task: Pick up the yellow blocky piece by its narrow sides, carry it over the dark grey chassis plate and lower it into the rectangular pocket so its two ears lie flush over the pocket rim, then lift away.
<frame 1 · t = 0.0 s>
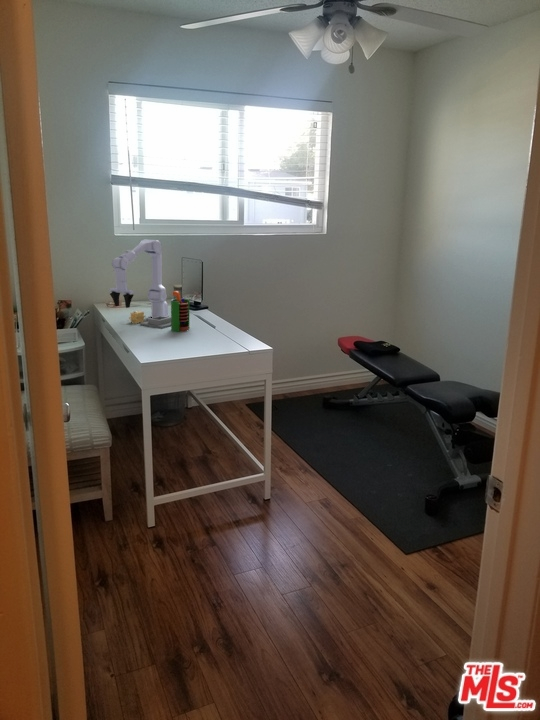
hand: (122, 306, 286), 10 cm above the table, tool pointing down, fingers open, 7 cm apart
yellow blocky piece: (137, 322, 298), on the table
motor: (180, 330, 282), on the table
chassis plate: (159, 324, 293), on the table
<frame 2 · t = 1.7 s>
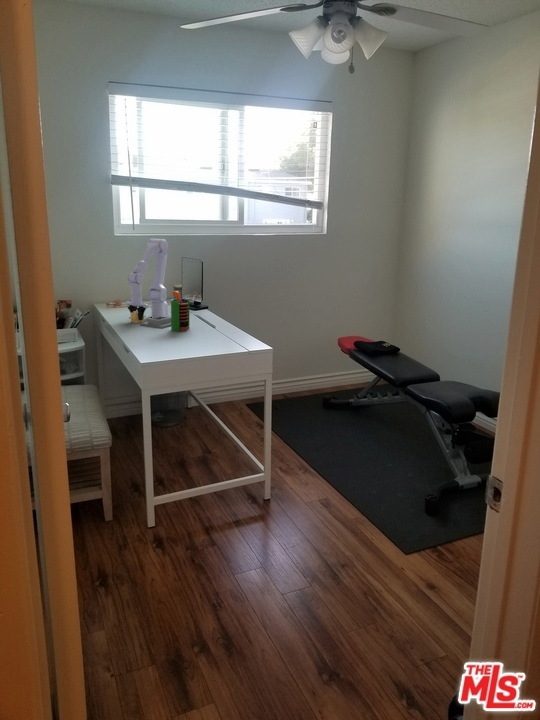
hand: (137, 319, 298), 1 cm above the table, tool pointing down, fingers closed on yellow blocky piece, 4 cm apart
yellow blocky piece: (137, 322, 298), on the table, touching gripper
everything else where it was.
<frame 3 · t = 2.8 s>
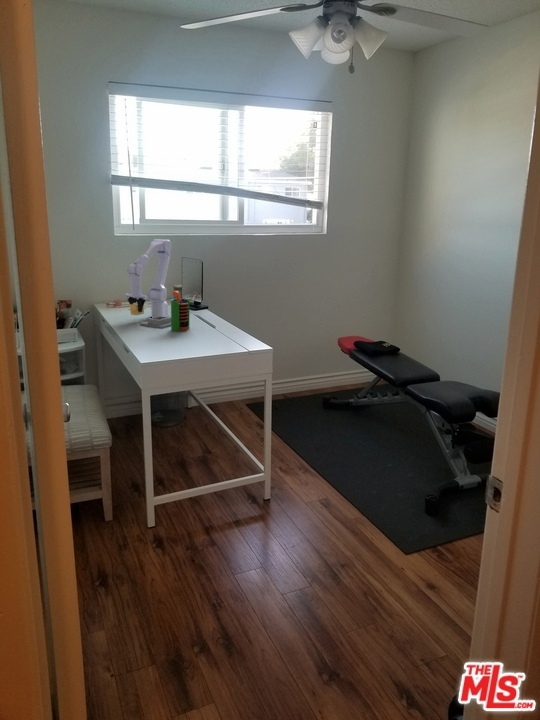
hand: (137, 311, 297), 6 cm above the table, tool pointing down, fingers closed on yellow blocky piece, 4 cm apart
yellow blocky piece: (137, 314, 297), point 4 cm above the table, touching gripper
everything else where it was.
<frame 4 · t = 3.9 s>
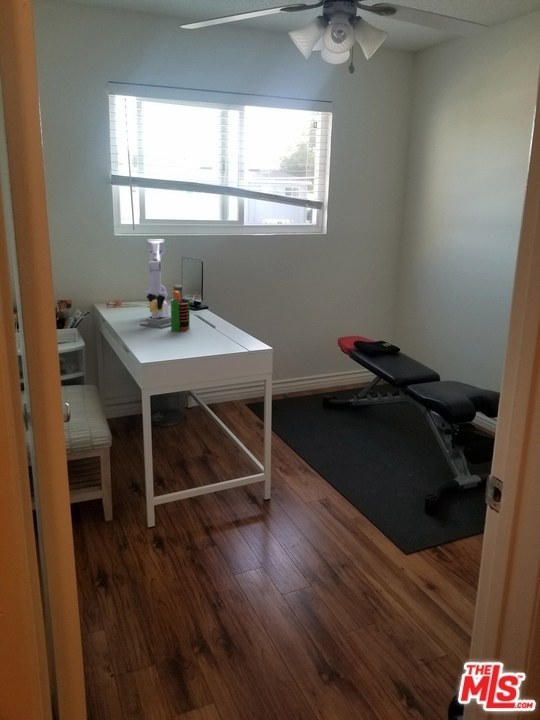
hand: (156, 308, 292), 8 cm above the table, tool pointing down, fingers closed on yellow blocky piece, 4 cm apart
yellow blocky piece: (156, 311, 292), point 7 cm above the table, touching gripper
everything else where it was.
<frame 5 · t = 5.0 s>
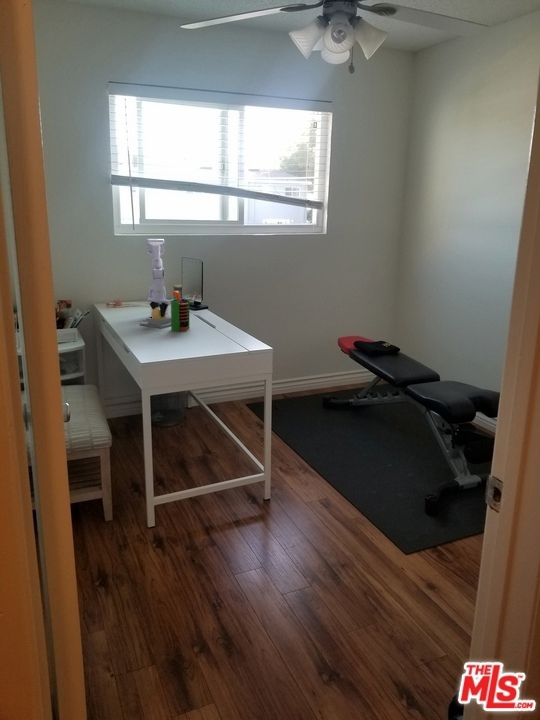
hand: (159, 316, 292), 5 cm above the table, tool pointing down, fingers closed on yellow blocky piece, 4 cm apart
yellow blocky piece: (159, 318, 292), point 3 cm above the table, touching gripper
everything else where it was.
when the fingers open (4 cm above the table, at t = 5.8 s): yellow blocky piece drops 2 cm, resting on chassis plate.
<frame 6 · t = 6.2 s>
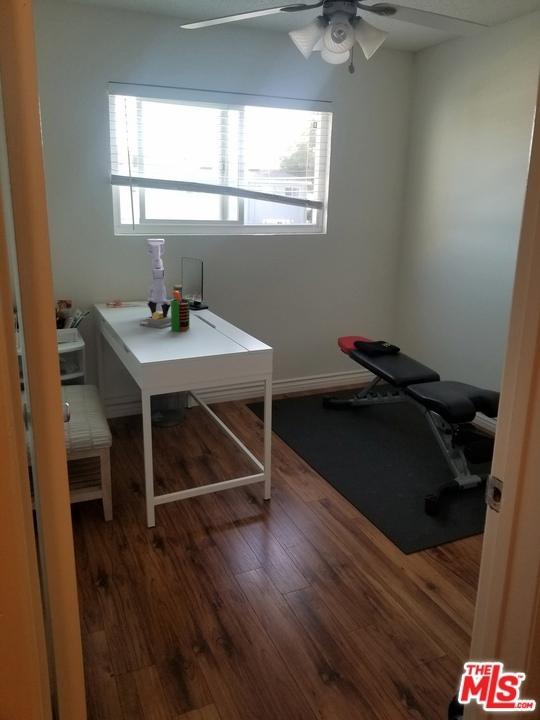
hand: (159, 316, 292), 4 cm above the table, tool pointing down, fingers open, 7 cm apart
yellow blocky piece: (159, 322, 293), point 1 cm above the table, touching chassis plate
everything else where it was.
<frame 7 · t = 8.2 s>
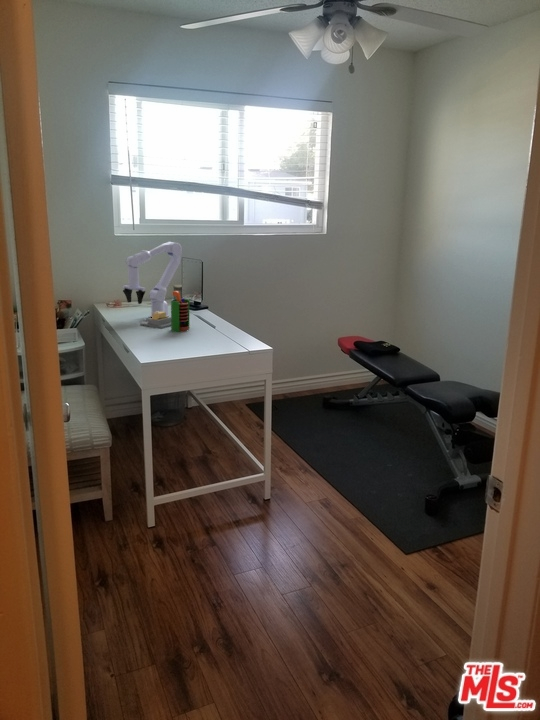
hand: (134, 302, 302), 9 cm above the table, tool pointing down, fingers open, 7 cm apart
nothing on the table moved.
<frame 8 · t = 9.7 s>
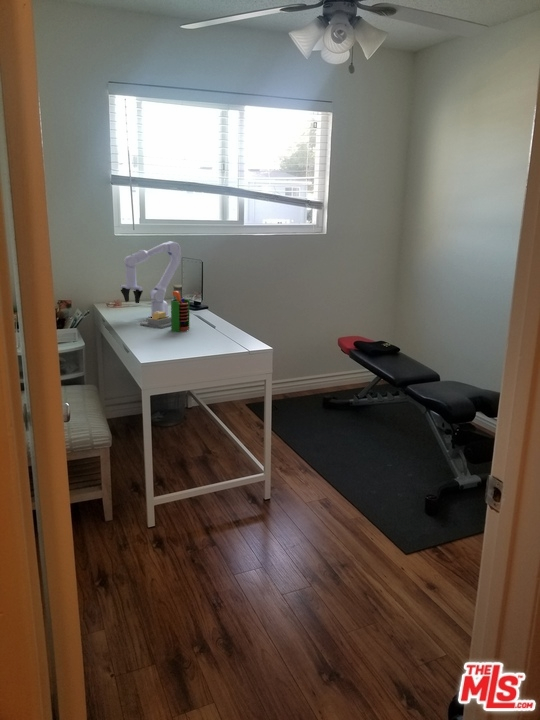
hand: (132, 302, 303), 9 cm above the table, tool pointing down, fingers open, 7 cm apart
nothing on the table moved.
at the end: yellow blocky piece 0.1 cm off-centre on the chassis plate, point 1.0 cm above the chassis plate's base; yellow blocky piece tilted 0°; the gripper is holding nothing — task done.
